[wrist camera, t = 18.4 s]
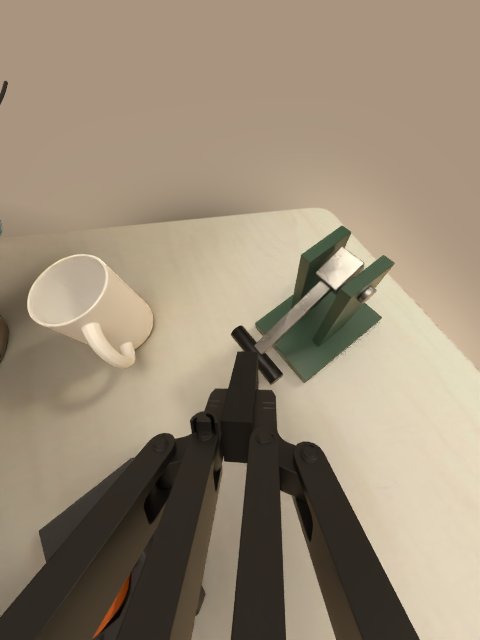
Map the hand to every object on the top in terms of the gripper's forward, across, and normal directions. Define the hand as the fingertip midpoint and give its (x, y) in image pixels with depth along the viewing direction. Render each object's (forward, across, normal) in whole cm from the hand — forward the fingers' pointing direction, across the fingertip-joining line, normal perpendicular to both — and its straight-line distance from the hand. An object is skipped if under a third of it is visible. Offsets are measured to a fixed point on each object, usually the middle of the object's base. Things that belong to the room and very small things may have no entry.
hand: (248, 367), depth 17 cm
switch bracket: (+13, +7, -2) cm, 15 cm away
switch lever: (+6, +4, +2) cm, 8 cm away
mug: (+12, -17, -3) cm, 21 cm away
